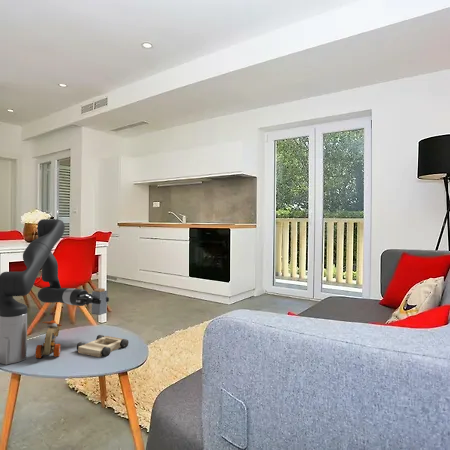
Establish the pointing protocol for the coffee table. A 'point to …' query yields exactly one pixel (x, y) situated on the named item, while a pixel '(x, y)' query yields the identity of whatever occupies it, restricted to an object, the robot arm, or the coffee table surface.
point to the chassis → (101, 346)
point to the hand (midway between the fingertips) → (104, 300)
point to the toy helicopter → (49, 341)
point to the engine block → (102, 295)
